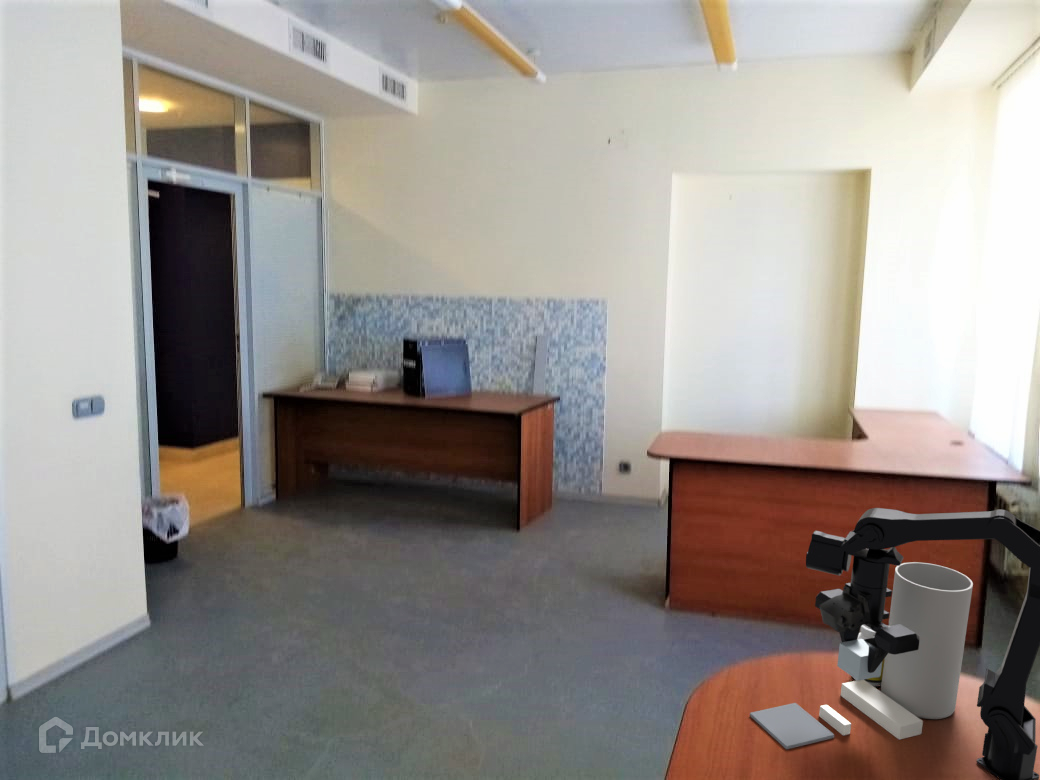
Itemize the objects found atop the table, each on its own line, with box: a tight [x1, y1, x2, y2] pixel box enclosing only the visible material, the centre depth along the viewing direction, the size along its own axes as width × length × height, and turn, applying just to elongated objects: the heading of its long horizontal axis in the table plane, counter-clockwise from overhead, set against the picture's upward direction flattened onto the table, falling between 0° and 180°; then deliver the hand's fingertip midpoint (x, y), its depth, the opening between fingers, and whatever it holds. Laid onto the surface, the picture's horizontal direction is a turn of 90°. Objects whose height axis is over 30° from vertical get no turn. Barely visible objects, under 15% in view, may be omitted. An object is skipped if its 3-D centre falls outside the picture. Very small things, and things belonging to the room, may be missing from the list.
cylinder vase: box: [880, 561, 974, 720], centre depth 145 cm, size 12×12×25 cm
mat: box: [749, 702, 835, 750], centre depth 138 cm, size 10×10×1 cm
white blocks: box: [818, 680, 924, 740], centre depth 141 cm, size 14×14×2 cm
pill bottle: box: [853, 625, 884, 687], centre depth 153 cm, size 6×6×11 cm
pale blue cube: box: [836, 639, 882, 681], centre depth 138 cm, size 5×5×4 cm
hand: (859, 664), depth 138 cm, fingers closed on pale blue cube, 5 cm apart
